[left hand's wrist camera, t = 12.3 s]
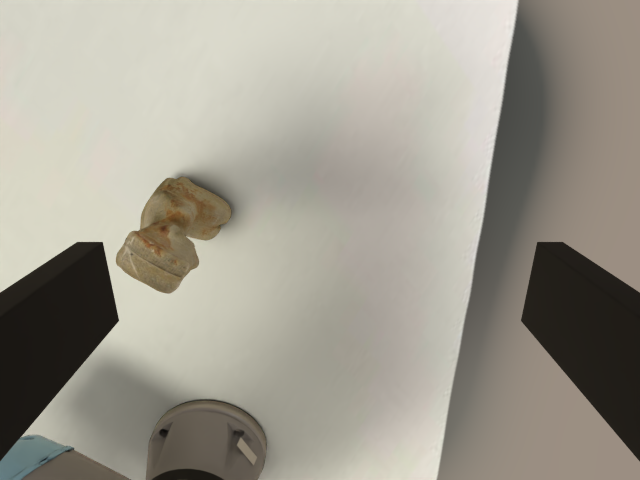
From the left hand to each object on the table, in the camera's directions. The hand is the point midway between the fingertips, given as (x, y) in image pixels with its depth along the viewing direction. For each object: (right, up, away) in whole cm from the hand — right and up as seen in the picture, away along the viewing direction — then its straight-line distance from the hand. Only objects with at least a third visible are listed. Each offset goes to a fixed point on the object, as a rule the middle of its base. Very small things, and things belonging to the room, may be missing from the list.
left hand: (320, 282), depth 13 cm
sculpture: (-13, +5, +31) cm, 34 cm away
